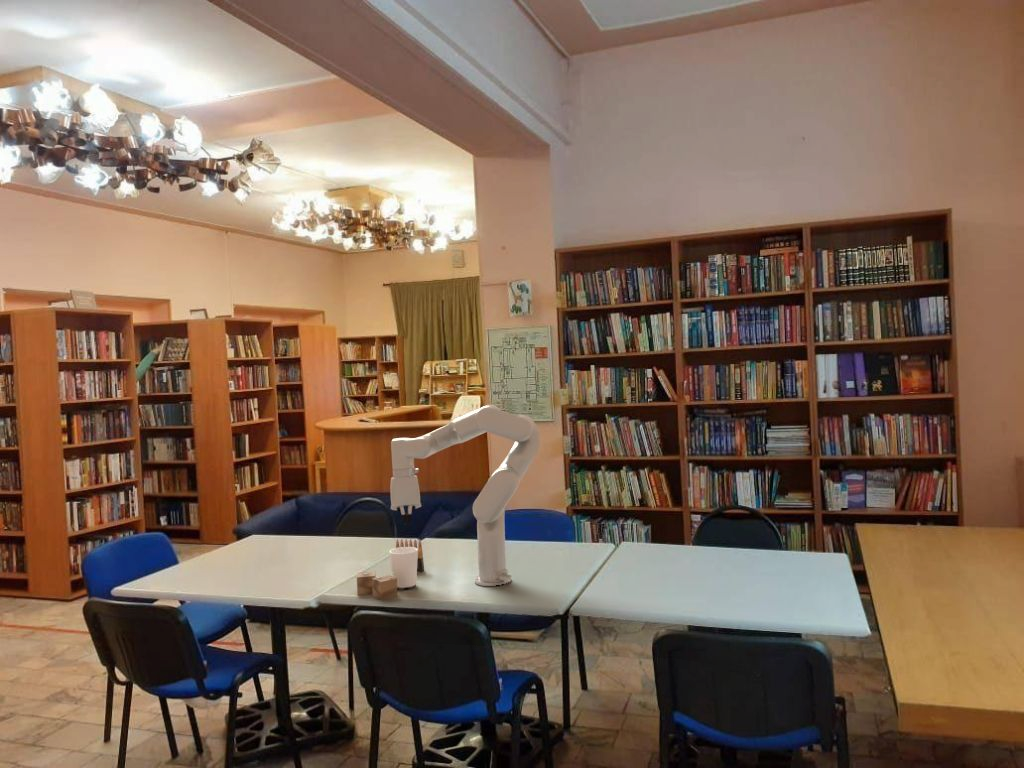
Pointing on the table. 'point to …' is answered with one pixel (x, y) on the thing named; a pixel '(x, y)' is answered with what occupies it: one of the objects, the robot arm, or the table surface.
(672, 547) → the table surface
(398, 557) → the cup
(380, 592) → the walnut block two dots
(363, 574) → the walnut block one dot
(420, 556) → the ammunition clip
